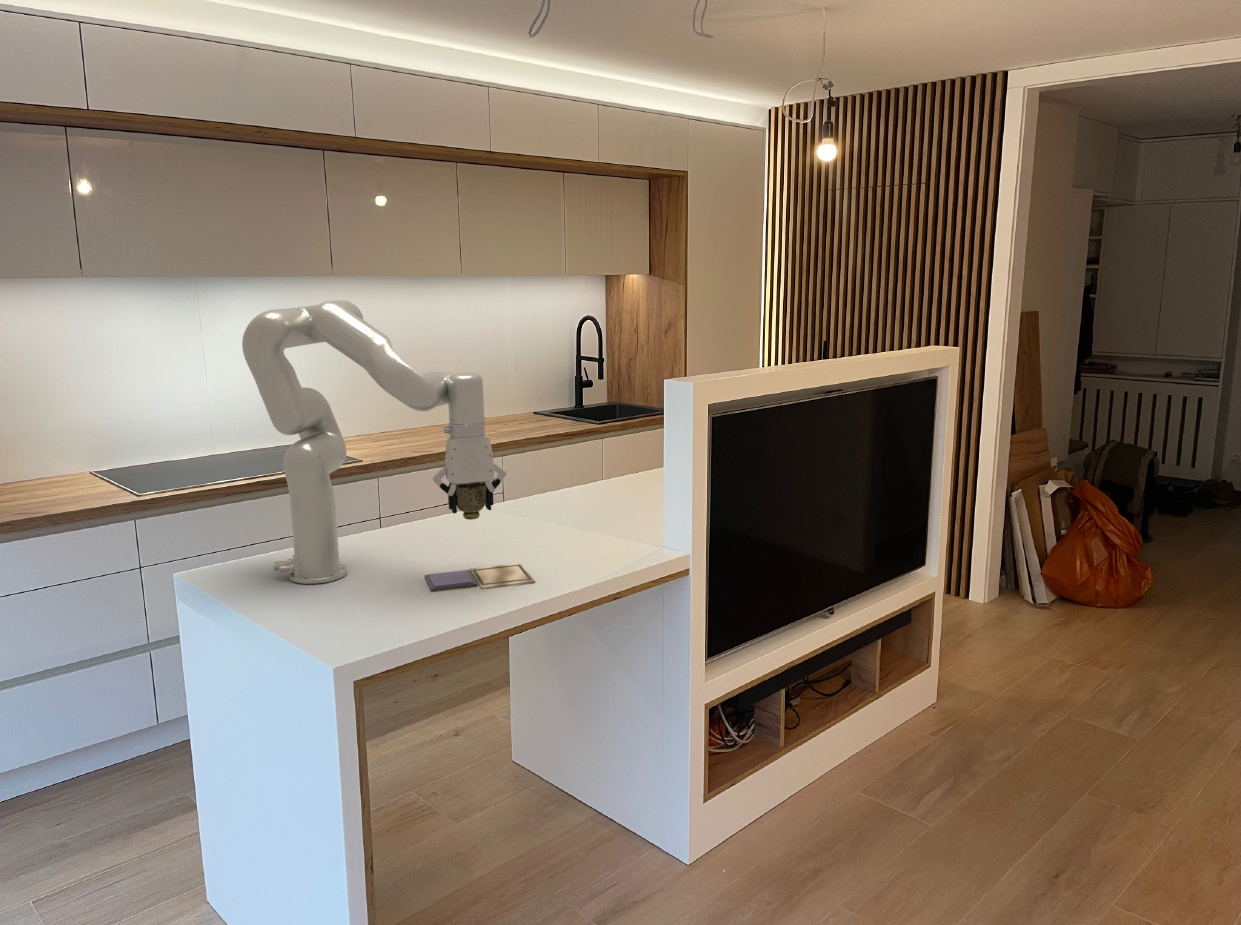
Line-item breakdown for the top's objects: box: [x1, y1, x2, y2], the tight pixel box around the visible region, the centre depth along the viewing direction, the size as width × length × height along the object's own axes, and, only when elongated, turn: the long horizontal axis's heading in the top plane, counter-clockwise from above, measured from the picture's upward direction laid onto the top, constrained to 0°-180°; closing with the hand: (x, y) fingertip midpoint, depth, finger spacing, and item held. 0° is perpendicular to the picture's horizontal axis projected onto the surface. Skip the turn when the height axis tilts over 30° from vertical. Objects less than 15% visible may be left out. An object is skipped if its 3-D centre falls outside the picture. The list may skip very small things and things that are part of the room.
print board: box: [468, 562, 536, 590], centre depth 210 cm, size 12×14×1 cm
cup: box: [454, 483, 487, 521], centre depth 204 cm, size 8×7×8 cm
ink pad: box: [424, 569, 478, 593], centre depth 206 cm, size 10×10×1 cm
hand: (471, 509), depth 205 cm, fingers closed on cup, 7 cm apart
